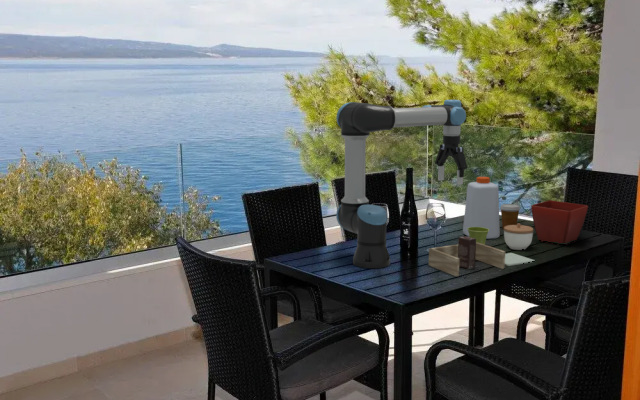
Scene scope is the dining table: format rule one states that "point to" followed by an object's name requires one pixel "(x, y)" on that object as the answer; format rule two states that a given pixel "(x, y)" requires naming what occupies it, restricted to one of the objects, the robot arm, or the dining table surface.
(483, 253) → the wooden u-shaped frame
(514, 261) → the plate
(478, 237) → the plant pot
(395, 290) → the dining table surface
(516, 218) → the disposable coffee cup
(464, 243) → the box
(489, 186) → the plastic bottle
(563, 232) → the plant pot
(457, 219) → the dining table surface
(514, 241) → the lidded bowl
